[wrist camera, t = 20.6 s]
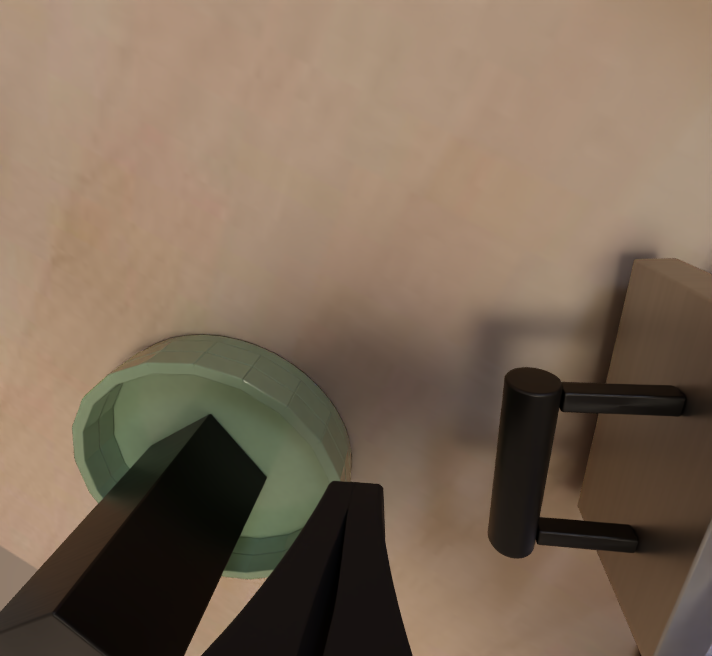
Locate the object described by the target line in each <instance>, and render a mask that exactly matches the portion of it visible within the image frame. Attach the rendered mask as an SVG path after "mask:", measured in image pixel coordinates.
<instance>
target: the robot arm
mask: <svg viewBox="0 0 712 656" xmlns="http://www.w3.org/2000/svg"><path fill="white" fill-rule="evenodd" d="M201 656H412V652H411V649H410V645H409V642H408V639H407V635H406V632H405V628H404V624H403V621H402V617H401V613H400V609H399V605H398V601H397V597H396V593H395V589H394V585H393V580H392V575H391V571H390V565H389V560H388V555H387V549H386V543H385V520H384V496H383V487H382V486H381V485H379V484H373V483H359V482H345V481H332V482H331V483H329V485H328V487H327V489H326V491H325V492H324V494H323V496H322V498H321V499H320V501H319V503H318V505H317V506H316V508H315V510H314V511H313V513H312V515H311V516H310V518H309V519H308V521H307V523H306V524H305V526H304V527H303V529H302V530H301V532H300V533H299V535H298V536H297V538H296V539H295V541H294V542H293V544H292V545H291V547H290V548H289V550H288V551H287V552H286V554H285V555H284V557H283V558H282V559H281V561H280V562H279V563H278V565H277V566H276V567H275V569H274V570H273V571H272V573H271V574H270V575H269V577H268V578H267V579H266V581H265V582H264V583H263V585H262V586H261V587H260V589H259V590H258V591H257V592H256V594H255V595H254V596H253V597H252V599H251V600H250V601H249V602H248V603H247V605H246V606H245V607H244V608H243V609H242V611H241V612H240V613H239V614H238V615H237V616H236V618H235V619H234V620H233V621H232V622H231V623H230V625H229V626H228V627H227V628H226V629H225V630H224V631H223V632H222V634H221V635H220V636H219V637H218V638H217V639H216V640H215V641H214V642H213V643H212V644H211V645H210V647H209V648H208V649H207V650H206V651H205V652H204V653H203V654H202V655H201ZM706 656H712V644H711V646H710V648H709V650H708V652H707V654H706Z"/></svg>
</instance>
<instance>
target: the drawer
mask: <svg viewBox="0 0 712 656" xmlns="http://www.w3.org/2000/svg"><path fill="white" fill-rule="evenodd" d="M559 408H560V410H561V411H562V412H576V413H599V415H598V419H597V424H596V428H595V432H594V437H593V441H592V445H591V450H590V454H589V458H588V463H587V467H586V471H585V476H584V480H583V484H582V488H581V493H580V497H579V501H578V508H579V511H580V513H581V515H582V518H583V520H584V521H581V520H569V519H557V518H544V517H540V511H541V506H542V500H543V495H544V489H545V484H546V478H547V473H548V467H549V461H550V456H551V450H552V445H553V439H554V434H555V428H556V423H557V417H558V412H559ZM488 538H489V540H490V542H491V544H492V546H493V547H494V548H495V549H496V550H497V551H498V552H499V553H501V554H503V555H505V556H507V557H510V558H517V559H518V558H524V557H526V556H528V555H529V554H531V552H532V551H533V549H534V545H535V539H536V542H537V544H539V545H548V546H558V547H569V548H580V549H591V550H597V553H598V555H599V557H600V560H601V562H602V564H603V567H604V569H605V571H606V574H607V576H608V578H609V581H610V583H611V585H612V588H613V590H614V593H615V595H616V597H617V600H618V602H619V604H620V607H621V609H622V611H623V614H624V616H625V618H626V621H627V623H628V625H629V628H630V630H631V632H632V635H633V637H634V639H635V642H636V644H637V646H638V649H639V651H640V653H641V656H706V654H707V652H708V650H709V648H710V646H711V644H712V274H710V273H708V272H706V271H703V270H701V269H699V268H697V267H694V266H692V265H690V264H688V263H686V262H683V261H681V260H679V259H676V258H664V259H635V260H634V263H633V268H632V272H631V276H630V281H629V285H628V289H627V294H626V298H625V302H624V307H623V311H622V315H621V320H620V324H619V328H618V333H617V337H616V341H615V346H614V350H613V354H612V359H611V363H610V367H609V372H608V376H607V380H606V383H577V382H561V381H560V379H559V378H558V377H557V376H555V375H554V374H552V373H550V372H548V371H545V370H542V369H537V368H530V367H522V368H516V369H513V370H511V371H509V372H508V373H507V374H506V376H505V379H504V388H503V398H502V407H501V416H500V425H499V434H498V443H497V453H496V462H495V471H494V480H493V489H492V498H491V508H490V517H489V526H488Z"/></svg>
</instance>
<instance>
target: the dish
mask: <svg viewBox="0 0 712 656" xmlns="http://www.w3.org/2000/svg"><path fill="white" fill-rule="evenodd" d="M209 414H212V415H213V416H214V418H215V419H216V420H217V421H218V422H219V423H220V424H221V426H222V427H223V428H224V429H225V430H226V431H227V432H228V434H229V435H230V436H231V437H232V438H233V439H234V440H235V441H236V443H237V444H238V445H239V446H240V447H241V448H242V449H243V451H244V452H245V453H246V454H247V455H248V456H249V457H250V458H251V460H252V461H253V462H254V463H255V464H256V465H257V466H258V468H259V469H260V470H261V471H262V472H263V473H264V474H265V475H266V477H267V480H266V482H265V484H264V486H263V488H262V490H261V492H260V495H259V497H258V499H257V501H256V503H255V505H254V507H253V509H252V512H251V514H250V516H249V518H248V520H247V522H246V524H245V527H244V529H243V531H242V533H241V535H240V537H239V539H238V541H237V544H236V546H235V548H234V550H233V552H232V554H231V556H230V559H229V561H228V563H227V565H226V567H225V569H224V571H223V574H222V576H223V577H231V578H240V579H258V578H267V577H269V575H270V574H271V573H272V571H273V570H274V569H275V567H276V566H277V565H278V563H279V562H280V561H281V559H282V558H283V557H284V555H285V554H286V552H287V551H288V550H289V548H290V547H291V545H292V544H293V542H294V541H295V539H296V538H297V536H298V535H299V533H300V532H301V530H302V529H303V527H304V526H305V524H306V523H307V521H308V519H309V518H310V516H311V515H312V513H313V511H314V510H315V508H316V506H317V505H318V503H319V501H320V499H321V498H322V496H323V494H324V492H325V491H326V489H327V487H328V485H329V483H331V482H332V481H345V482H350V480H351V478H350V474H351V468H352V454H351V448H350V442H349V438H348V435H347V432H346V429H345V426H344V424H343V422H342V420H341V418H340V416H339V414H338V412H337V411H336V409H335V408H334V406H333V404H332V403H331V401H330V400H329V399H328V397H327V396H326V395H325V394H324V393H323V392H322V390H321V389H320V388H319V387H318V386H317V385H316V384H315V383H314V382H313V381H312V380H311V379H310V378H309V377H308V376H307V375H305V374H304V373H303V372H302V371H300V370H299V369H298V368H296V367H295V366H294V365H292V364H291V363H290V362H288V361H286V360H284V359H283V358H281V357H279V356H278V355H276V354H274V353H272V352H270V351H268V350H266V349H263V348H261V347H259V346H257V345H254V344H251V343H247V342H244V341H241V340H238V339H233V338H228V337H223V336H214V335H187V336H181V337H176V338H170V339H167V340H165V341H162V342H159V343H156V344H154V345H152V346H150V347H149V348H147V349H145V350H143V351H141V352H139V353H137V354H136V355H134V356H133V357H132V358H130V359H129V360H127V361H126V362H125V363H124V364H122V365H121V366H119V367H118V368H117V369H115V370H114V371H112V372H111V373H110V374H108V375H107V376H106V377H105V378H104V379H103V380H102V381H100V382H99V383H98V384H97V385H96V386H95V387H94V388H93V389H92V390H91V391H89V392H88V393H87V394H86V395H85V396H84V398H83V399H82V401H81V404H80V407H79V410H78V412H77V415H76V418H75V420H74V423H73V426H72V434H73V446H74V458H75V462H76V464H77V466H78V468H79V471H80V473H81V475H82V477H83V480H84V482H85V484H86V486H87V489H88V491H89V493H90V494H91V495H92V496H93V498H94V499H95V500H96V501H97V503H99V502H100V501H101V500H102V499H103V498H104V497H105V496H106V494H107V493H108V492H109V491H110V490H111V489H112V488H113V487H114V486H115V485H116V483H117V482H118V481H119V480H120V479H121V478H122V477H123V476H124V475H125V473H126V472H127V471H128V470H129V469H130V468H131V467H132V466H133V465H134V464H135V462H136V461H137V460H138V459H139V458H140V457H141V456H142V455H143V454H144V452H145V451H146V450H147V449H148V448H149V447H150V446H151V445H153V444H155V443H157V442H159V441H160V440H162V439H164V438H166V437H168V436H170V435H172V434H173V433H175V432H177V431H179V430H181V429H183V428H185V427H186V426H188V425H190V424H192V423H194V422H196V421H198V420H199V419H201V418H203V417H205V416H207V415H209Z"/></svg>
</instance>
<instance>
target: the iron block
mask: <svg viewBox="0 0 712 656" xmlns="http://www.w3.org/2000/svg"><path fill="white" fill-rule="evenodd" d="M266 480H267V477H266V475H265V474H264V473H263V472H262V471H261V470H260V469H259V468H258V466H257V465H256V464H255V463H254V462H253V461H252V460H251V458H250V457H249V456H248V455H247V454H246V453H245V452H244V451H243V449H242V448H241V447H240V446H239V445H238V444H237V443H236V441H235V440H234V439H233V438H232V437H231V436H230V435H229V434H228V432H227V431H226V430H225V429H224V428H223V427H222V426H221V424H220V423H219V422H218V421H217V420H216V419H215V418H214V416H213V415H212V414H209V415H207V416H205V417H203V418H201V419H199V420H198V421H196V422H194V423H192V424H190V425H188V426H186V427H185V428H183V429H181V430H179V431H177V432H175V433H173V434H172V435H170V436H168V437H166V438H164V439H162V440H160V441H159V442H157V443H155V444H153V445H151V446H150V447H149V448H148V449H147V450H146V451H145V452H144V454H143V455H142V456H141V457H140V458H139V459H138V460H137V461H136V462H135V464H134V465H133V466H132V467H131V468H130V469H129V470H128V471H127V472H126V473H125V475H124V476H123V477H122V478H121V479H120V480H119V481H118V482H117V483H116V485H115V486H114V487H113V488H112V489H111V490H110V491H109V492H108V493H107V494H106V496H105V497H104V498H103V499H102V500H101V501H100V502H99V503H98V504H97V506H96V507H95V508H94V509H93V510H92V511H91V512H90V513H89V514H88V515H87V517H86V518H85V519H84V520H83V521H82V522H81V523H80V524H79V525H78V527H77V528H76V529H75V530H74V531H73V532H72V533H71V534H70V535H69V536H68V538H67V539H66V540H65V541H64V542H63V543H62V544H61V545H60V546H59V548H58V549H57V550H56V551H55V552H54V553H53V554H52V555H51V556H50V557H49V559H48V560H47V561H46V562H45V563H44V564H43V565H42V566H41V567H40V569H39V570H38V571H37V572H36V573H35V574H34V575H33V576H32V577H31V579H30V580H29V581H28V582H27V583H26V584H25V585H24V586H23V587H22V588H21V590H20V591H19V592H18V593H17V594H16V595H15V597H13V598H12V600H11V601H10V602H9V603H8V604H7V605H6V606H5V607H4V608H3V609H2V611H1V612H0V656H184V655H185V653H186V650H187V648H188V646H189V644H190V642H191V640H192V638H193V635H194V633H195V631H196V629H197V627H198V625H199V623H200V621H201V618H202V616H203V614H204V612H205V610H206V608H207V606H208V603H209V601H210V599H211V597H212V595H213V593H214V591H215V588H216V586H217V584H218V582H219V580H220V578H221V576H222V574H223V571H224V569H225V567H226V565H227V563H228V561H229V559H230V556H231V554H232V552H233V550H234V548H235V546H236V544H237V541H238V539H239V537H240V535H241V533H242V531H243V529H244V527H245V524H246V522H247V520H248V518H249V516H250V514H251V512H252V509H253V507H254V505H255V503H256V501H257V499H258V497H259V495H260V492H261V490H262V488H263V486H264V484H265V482H266Z"/></svg>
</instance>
